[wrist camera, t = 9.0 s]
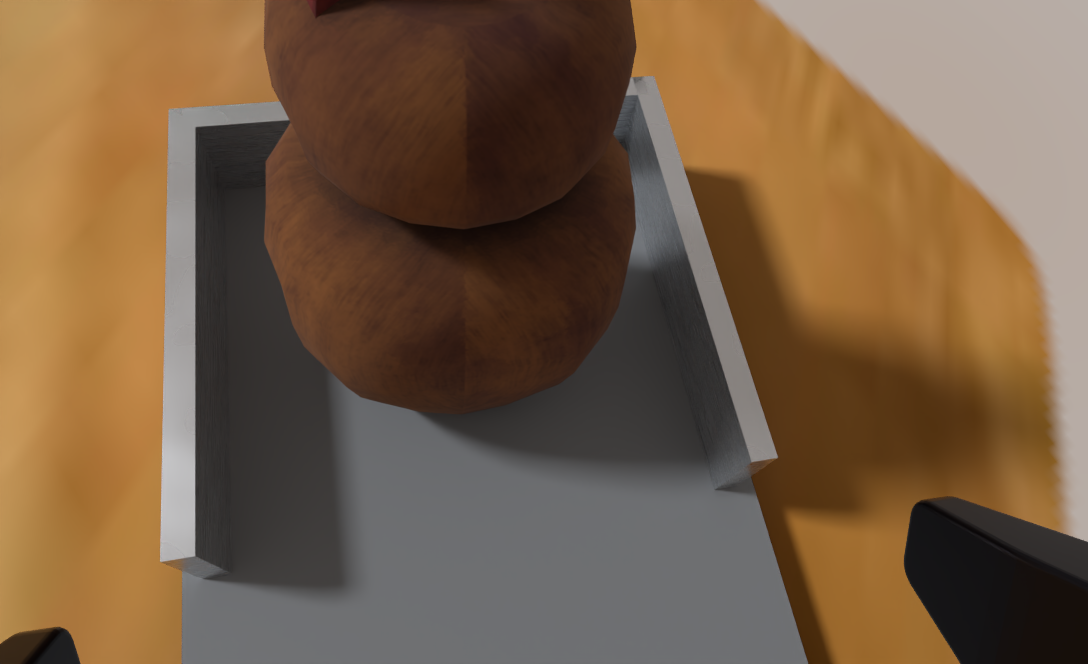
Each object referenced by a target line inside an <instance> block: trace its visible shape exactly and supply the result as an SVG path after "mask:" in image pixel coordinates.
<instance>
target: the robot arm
mask: <svg viewBox="0 0 1088 664" xmlns="http://www.w3.org/2000/svg"><path fill="white" fill-rule="evenodd" d="M904 568H905V572H906V575H907V578H908V580H909V582H910V584H911V586H912V587H913V589H914V591H915V592H916V594H917V595H918V597H919V599H920V600H921V602H922V603H923V605H924V606H925V608H926V610H927V611H928V613H929V614H930V616H931V618H932V619H933V621H934V622H935V624H936V625H937V627H938V629H939V630H940V632H941V633H942V635H943V637H944V638H945V640H946V641H947V643H948V645H949V646H950V648H951V649H952V651H953V652H954V654H955V656H956V657H957V659H958V660H959V662H960V664H1088V542H1086V541H1084V540H1080V539H1077V538H1075V537H1072V536H1069V535H1066V534H1063V533H1060V532H1057V531H1054V530H1051V529H1048V528H1045V527H1042V526H1039V525H1036V524H1033V523H1030V522H1027V521H1024V520H1021V519H1019V518H1016V517H1013V516H1010V515H1007V514H1004V513H1001V512H998V511H995V510H992V509H989V508H986V507H983V506H980V505H977V504H974V503H971V502H968V501H965V500H962V499H959V498H956V497H950V496H946V497H939V498H932V499H925V500H921V501H919V502H917V503H916V504H915V505H914V507H913V509H912V511H911V516H910V523H909V529H908V536H907V542H906V548H905V555H904ZM0 664H80V661H79V657H78V654H77V651H76V648H75V645H74V642H73V639H72V637H71V635H70V633H69V632H68V631H67V630H66V629H64V628H61V627H52V628H46V629H39V630H32V631H25V632H20V633H17V634H15V635H13V636H11V637H9V638H8V639H7V640H5V641H4V642H2V643H1V644H0Z"/></svg>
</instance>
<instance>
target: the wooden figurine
mask: <svg viewBox="0 0 1088 664" xmlns="http://www.w3.org/2000/svg"><path fill="white" fill-rule="evenodd" d="M264 49H265V54H266V59H267V64H268V69H269V74H270V79H271V84H272V87H273V89H274V91H275V93H276V95H277V97H278V99H279V101H280V103H281V105H282V107H283V108H284V110H285V112H286V114H287V116H288V118H289V120H290V124H289V126H288V127H287V129H286V130H285V132H284V134H283V135H282V137H281V138H280V140H279V141H278V143H277V145H276V146H275V148H274V149H273V151H272V152H271V154H270V156H269V157H268V159H267V160H266V211H265V234H264V243H265V245H266V248H267V250H268V253H269V255H270V258H271V260H272V263H273V265H274V268H275V270H276V273H277V276H278V278H279V281H280V283H281V286H282V290H283V293H284V297H285V300H286V304H287V307H288V311H289V314H290V318H291V321H292V325H293V327H294V328H295V330H296V332H297V334H298V336H299V338H300V340H301V342H302V344H303V345H304V347H305V348H306V349H307V350H308V351H309V352H310V353H311V354H312V355H313V356H314V357H315V358H316V359H317V360H318V361H320V362H321V363H322V364H323V365H324V366H325V367H326V368H327V369H328V370H329V371H330V372H331V373H332V374H333V375H334V376H335V377H336V378H337V379H339V380H340V381H341V382H342V383H343V384H344V385H345V386H346V387H347V388H348V389H350V390H351V391H353V392H354V393H355V394H357V395H358V396H359V397H361V398H365V399H369V400H373V401H377V402H381V403H385V404H389V405H393V406H397V407H401V408H405V409H410V410H414V411H418V412H430V413H445V414H461V415H462V414H466V413H471V412H476V411H480V410H485V409H490V408H495V407H499V406H504V405H507V404H510V403H512V402H515V401H518V400H520V399H523V398H525V397H528V396H530V395H533V394H535V393H538V392H540V391H543V390H545V389H548V388H550V387H553V386H556V385H558V384H560V383H561V382H563V381H564V380H565V379H567V378H568V377H569V376H571V375H572V374H573V373H574V372H575V371H576V370H577V368H578V367H579V366H580V365H581V363H582V362H583V361H584V359H585V358H586V357H587V355H588V354H589V353H590V351H591V350H592V349H593V347H594V346H595V345H596V344H597V342H598V341H599V340H600V338H601V337H602V336H603V334H604V333H605V332H606V330H607V329H608V327H609V325H610V323H611V321H612V319H613V317H614V315H615V313H616V311H617V309H618V307H619V303H620V299H621V295H622V291H623V287H624V282H625V278H626V274H627V269H628V264H629V259H630V255H631V250H632V245H633V240H634V235H635V231H636V216H635V198H634V192H633V185H632V178H631V171H630V164H629V158H628V153H627V152H626V150H625V149H624V148H623V147H622V145H621V144H620V143H619V141H618V140H617V139H616V137H615V136H614V135H613V133H614V130H615V128H616V125H617V121H618V118H619V115H620V112H621V109H622V105H623V102H624V99H625V96H626V93H627V90H628V86H629V83H630V78H631V73H632V68H633V63H634V57H635V52H636V40H635V32H634V24H633V17H632V9H631V2H630V0H265V20H264Z"/></svg>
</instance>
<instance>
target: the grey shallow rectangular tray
mask: <svg viewBox="0 0 1088 664" xmlns="http://www.w3.org/2000/svg"><path fill="white" fill-rule="evenodd" d="M289 124H290V120H289V118H288V116H287V114H286V112H285V110H284V108H283V107H282V105H281V103H280V102H265V103H251V104H236V105H222V106H207V107H192V108H178V109H169V126H168V179H167V231H166V283H165V336H164V388H163V441H162V493H161V546H160V562H161V563H164V564H166V565H169V566H171V567H174V568H176V569H179V570H181V571H182V664H808V661H807V658H806V655H805V652H804V648H803V645H802V642H801V639H800V635H799V632H798V629H797V625H796V622H795V619H794V616H793V612H792V609H791V606H790V603H789V599H788V596H787V593H786V590H785V586H784V583H783V580H782V577H781V573H780V570H779V567H778V564H777V560H776V557H775V554H774V551H773V547H772V544H771V541H770V537H769V534H768V531H767V528H766V524H765V521H764V518H763V515H762V511H761V508H760V505H759V502H758V498H757V495H756V492H755V489H754V485H753V482H752V479H751V476H752V475H754V474H755V473H757V472H758V471H760V470H761V469H762V468H764V467H765V466H767V465H768V464H770V463H771V462H773V461H774V460H775V459H777V458H778V456H777V453H776V450H775V447H774V444H773V441H772V438H771V434H770V431H769V428H768V425H767V422H766V419H765V416H764V413H763V410H762V407H761V404H760V401H759V398H758V395H757V391H756V388H755V385H754V382H753V379H752V376H751V373H750V370H749V367H748V364H747V361H746V358H745V355H744V351H743V348H742V345H741V342H740V339H739V336H738V333H737V330H736V327H735V324H734V321H733V318H732V315H731V312H730V308H729V305H728V302H727V299H726V296H725V293H724V290H723V287H722V284H721V281H720V278H719V275H718V272H717V268H716V265H715V262H714V259H713V256H712V253H711V250H710V247H709V244H708V241H707V238H706V235H705V232H704V229H703V225H702V222H701V219H700V216H699V213H698V210H697V207H696V204H695V201H694V198H693V195H692V192H691V189H690V185H689V182H688V179H687V176H686V173H685V170H684V167H683V164H682V161H681V158H680V155H679V152H678V149H677V146H676V142H675V139H674V136H673V133H672V130H671V127H670V124H669V121H668V118H667V115H666V112H665V109H664V106H663V102H662V99H661V96H660V93H659V90H658V87H657V84H656V81H655V78H654V76H646V77H632V78H630V83H629V86H628V90H627V93H626V96H625V99H624V102H623V105H622V109H621V112H620V115H619V118H618V121H617V125H616V128H615V130H614V133H613V135H614V136H615V137H616V139H617V140H618V141H619V143H620V144H621V145H622V147H623V148H624V149H625V150H626V152H627V153H628V158H629V164H630V171H631V178H632V185H633V192H634V198H635V216H636V231H635V235H634V240H633V245H632V250H631V255H630V259H629V264H628V269H627V274H626V278H625V282H624V287H623V291H622V295H621V299H620V303H619V307H618V309H617V311H616V313H615V315H614V317H613V319H612V321H611V323H610V325H609V327H608V329H607V330H606V332H605V333H604V334H603V336H602V337H601V338H600V340H599V341H598V342H597V344H596V345H595V346H594V347H593V349H592V350H591V351H590V353H589V354H588V355H587V357H586V358H585V359H584V361H583V362H582V363H581V365H580V366H579V367H578V368H577V370H576V371H575V372H574V373H573V374H572V375H571V376H569V377H568V378H567V379H565V380H564V381H563V382H561V383H560V384H558V385H556V386H553V387H550V388H548V389H545V390H543V391H540V392H538V393H535V394H533V395H530V396H528V397H525V398H523V399H520V400H518V401H515V402H512V403H510V404H507V405H504V406H499V407H495V408H490V409H485V410H480V411H476V412H471V413H466V414H462V415H461V414H445V413H430V412H418V411H414V410H410V409H405V408H401V407H397V406H393V405H389V404H385V403H381V402H377V401H373V400H369V399H365V398H361V397H359V396H358V395H357V394H355V393H354V392H353V391H351V390H350V389H348V388H347V387H346V386H345V385H344V384H343V383H342V382H341V381H340V380H339V379H337V378H336V377H335V376H334V375H333V374H332V373H331V372H330V371H329V370H328V369H327V368H326V367H325V366H324V365H323V364H322V363H321V362H320V361H318V360H317V359H316V358H315V357H314V356H313V355H312V354H311V353H310V352H309V351H308V350H307V349H306V348H305V347H304V345H303V344H302V342H301V340H300V338H299V336H298V334H297V332H296V330H295V328H294V327H293V325H292V321H291V318H290V314H289V311H288V307H287V304H286V300H285V297H284V293H283V290H282V286H281V283H280V281H279V278H278V276H277V273H276V270H275V268H274V265H273V263H272V260H271V258H270V255H269V253H268V250H267V248H266V245H265V243H264V234H265V211H266V160H267V159H268V157H269V156H270V154H271V152H272V151H273V149H274V148H275V146H276V145H277V143H278V141H279V140H280V138H281V137H282V135H283V134H284V132H285V130H286V129H287V127H288V126H289Z"/></svg>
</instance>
